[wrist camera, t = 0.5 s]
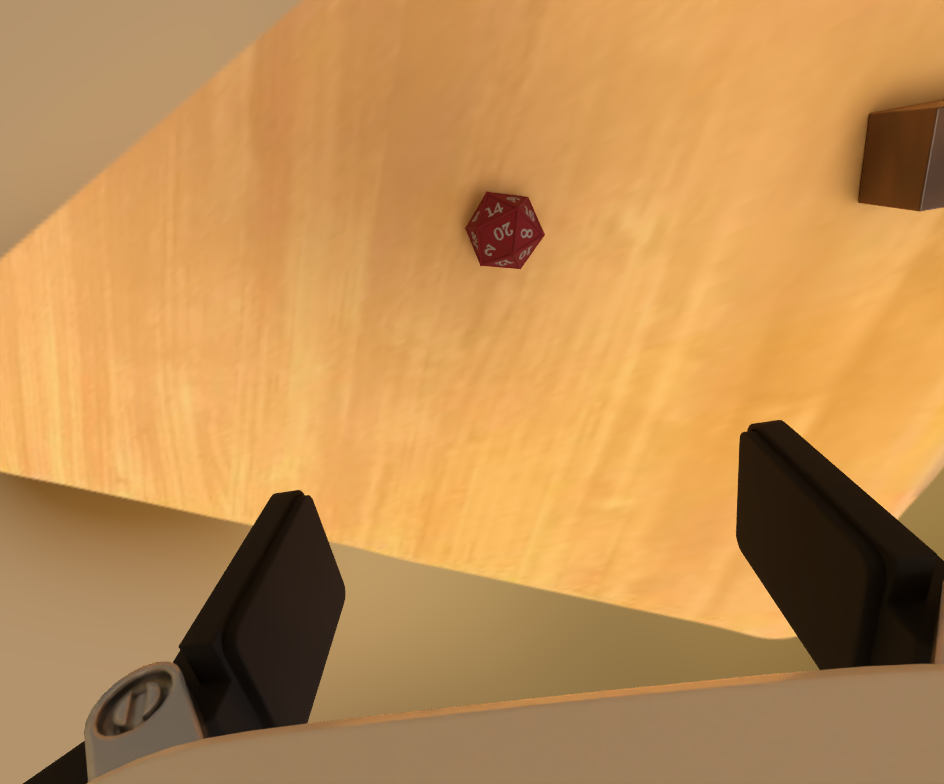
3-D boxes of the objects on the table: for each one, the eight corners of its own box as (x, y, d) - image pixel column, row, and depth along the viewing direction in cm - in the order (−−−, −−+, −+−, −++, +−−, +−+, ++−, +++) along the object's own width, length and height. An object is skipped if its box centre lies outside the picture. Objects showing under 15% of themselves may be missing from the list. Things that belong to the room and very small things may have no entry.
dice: (517, 173, 29) (522, 176, 25) (547, 248, 30) (556, 261, 27) (456, 204, 29) (452, 212, 26) (489, 275, 31) (490, 292, 27)
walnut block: (868, 113, 27) (937, 107, 23) (960, 95, 27) (1047, 86, 23) (857, 203, 29) (919, 212, 25) (943, 187, 29) (1019, 194, 24)
